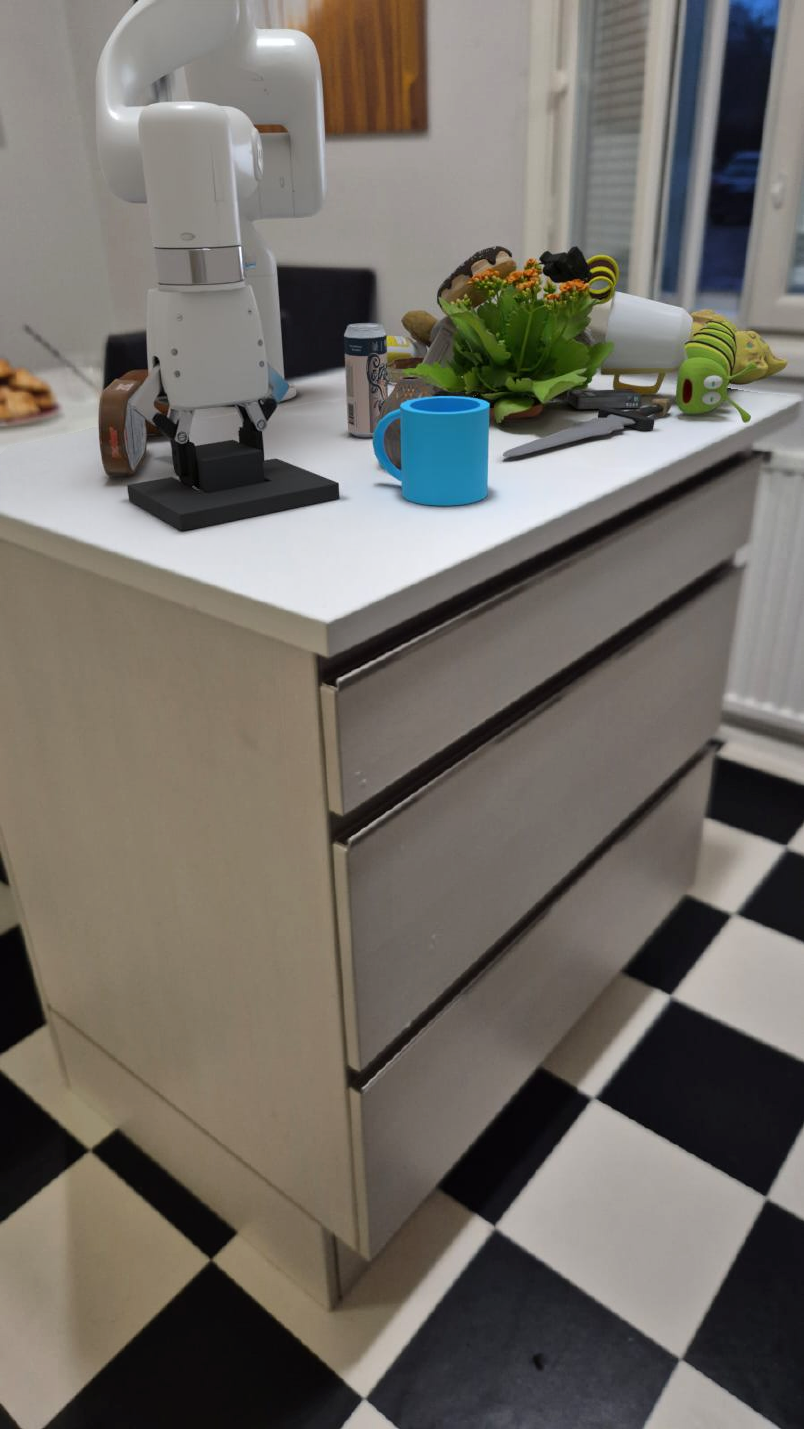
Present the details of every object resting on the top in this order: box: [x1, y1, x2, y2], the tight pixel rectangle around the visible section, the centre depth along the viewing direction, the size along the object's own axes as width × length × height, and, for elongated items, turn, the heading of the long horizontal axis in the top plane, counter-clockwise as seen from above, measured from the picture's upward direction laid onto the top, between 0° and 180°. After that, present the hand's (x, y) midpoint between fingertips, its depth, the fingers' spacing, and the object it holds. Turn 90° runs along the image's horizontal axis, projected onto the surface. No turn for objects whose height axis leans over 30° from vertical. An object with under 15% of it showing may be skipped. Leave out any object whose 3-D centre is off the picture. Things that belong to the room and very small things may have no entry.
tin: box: [97, 378, 148, 477], centre depth 103 cm, size 15×3×8 cm, turn 5°
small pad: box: [193, 439, 265, 494], centre depth 93 cm, size 6×6×3 cm
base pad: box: [126, 457, 340, 532], centre depth 93 cm, size 12×16×2 cm
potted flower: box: [402, 258, 614, 424], centre depth 122 cm, size 25×24×18 cm
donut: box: [436, 245, 518, 316], centre depth 126 cm, size 11×12×4 cm
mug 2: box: [600, 290, 693, 396], centre depth 129 cm, size 14×10×10 cm
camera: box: [422, 305, 480, 397], centre depth 136 cm, size 11×6×10 cm
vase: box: [378, 376, 434, 469], centre depth 101 cm, size 7×7×9 cm
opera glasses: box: [558, 254, 620, 318], centre depth 127 cm, size 10×5×5 cm
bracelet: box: [387, 356, 425, 384], centre depth 146 cm, size 9×9×3 cm
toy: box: [675, 320, 757, 424], centre depth 127 cm, size 8×28×10 cm
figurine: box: [689, 308, 788, 386], centre depth 139 cm, size 11×9×15 cm
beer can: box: [343, 322, 389, 438], centre depth 113 cm, size 5×5×12 cm
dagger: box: [502, 398, 672, 458], centre depth 113 cm, size 8×32×2 cm, turn 143°
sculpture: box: [400, 309, 439, 349], centre depth 154 cm, size 13×4×15 cm
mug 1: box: [372, 395, 490, 507], centre depth 93 cm, size 12×8×8 cm
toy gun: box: [538, 245, 593, 284], centre depth 123 cm, size 20×3×6 cm
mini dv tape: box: [567, 389, 642, 410], centre depth 128 cm, size 8×2×6 cm
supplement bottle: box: [387, 335, 428, 364], centre depth 150 cm, size 5×5×10 cm
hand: (221, 475), depth 94 cm, fingers closed on small pad, 5 cm apart
